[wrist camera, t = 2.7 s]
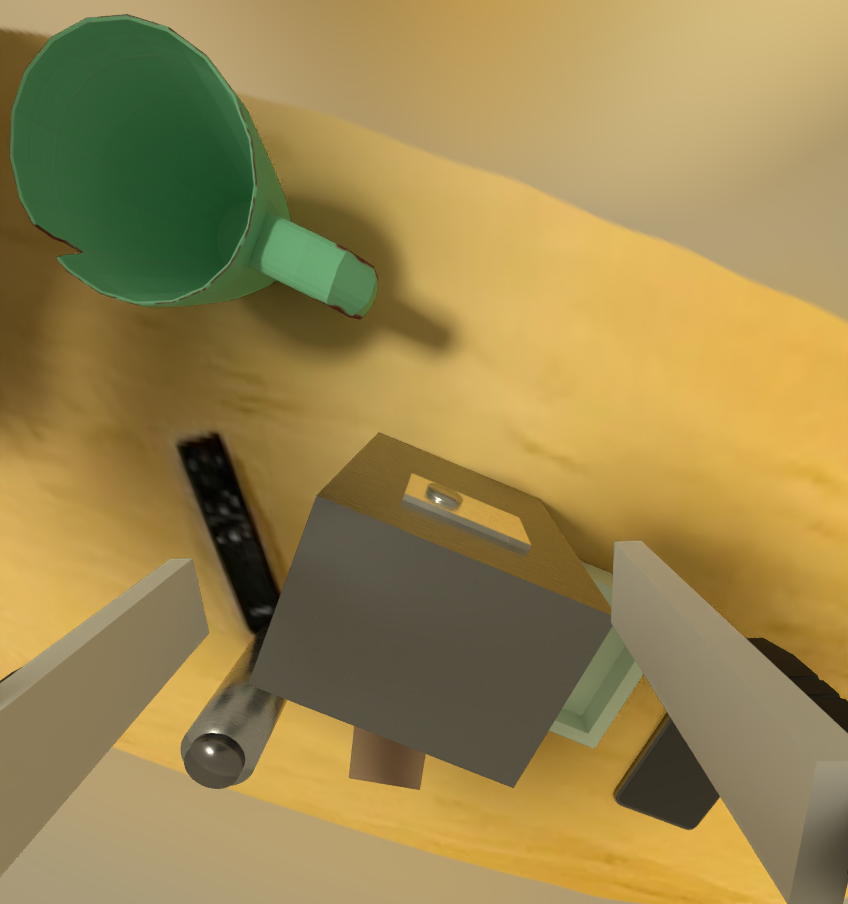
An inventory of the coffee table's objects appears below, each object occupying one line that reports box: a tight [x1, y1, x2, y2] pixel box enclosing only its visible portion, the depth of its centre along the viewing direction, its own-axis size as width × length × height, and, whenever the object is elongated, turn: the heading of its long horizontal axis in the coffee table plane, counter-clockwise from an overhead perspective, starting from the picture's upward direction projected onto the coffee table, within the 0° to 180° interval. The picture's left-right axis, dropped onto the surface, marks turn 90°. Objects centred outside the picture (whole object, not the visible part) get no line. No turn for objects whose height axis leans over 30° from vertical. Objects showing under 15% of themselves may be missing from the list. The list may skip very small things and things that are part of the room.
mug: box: [10, 14, 378, 319], centre depth 20 cm, size 15×10×10 cm
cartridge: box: [181, 622, 287, 789], centre depth 27 cm, size 4×4×10 cm
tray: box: [549, 561, 643, 749], centre depth 28 cm, size 12×12×2 cm
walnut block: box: [349, 726, 425, 790], centre depth 29 cm, size 5×5×5 cm
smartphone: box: [613, 713, 720, 830], centre depth 31 cm, size 7×1×16 cm
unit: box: [248, 433, 613, 788], centre depth 22 cm, size 12×10×13 cm
